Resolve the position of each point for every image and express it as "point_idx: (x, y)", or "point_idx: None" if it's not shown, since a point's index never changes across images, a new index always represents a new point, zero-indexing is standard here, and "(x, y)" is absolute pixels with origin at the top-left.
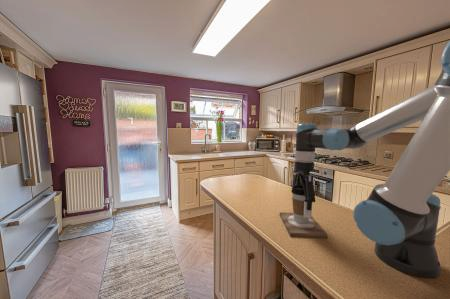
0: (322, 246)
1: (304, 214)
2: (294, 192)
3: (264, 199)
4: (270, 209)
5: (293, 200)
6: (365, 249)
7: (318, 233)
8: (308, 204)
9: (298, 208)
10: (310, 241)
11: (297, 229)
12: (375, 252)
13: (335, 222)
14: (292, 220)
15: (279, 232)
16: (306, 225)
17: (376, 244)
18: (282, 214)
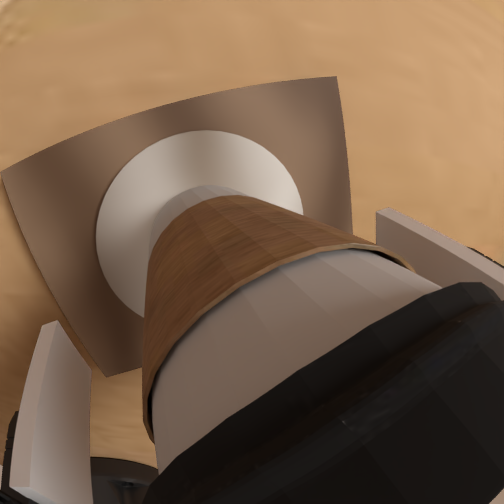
0: (13, 336)
1: (36, 346)
2: (238, 478)
3: (481, 44)
4: (391, 34)
5: (224, 262)
6: (104, 445)
7: (83, 342)
8: (6, 476)
9: (147, 292)
10: (18, 288)
11: (61, 219)
12: (97, 459)
13: None
14: (191, 174)
15: (32, 89)
16: (142, 282)
17: (106, 481)
18: (303, 93)
